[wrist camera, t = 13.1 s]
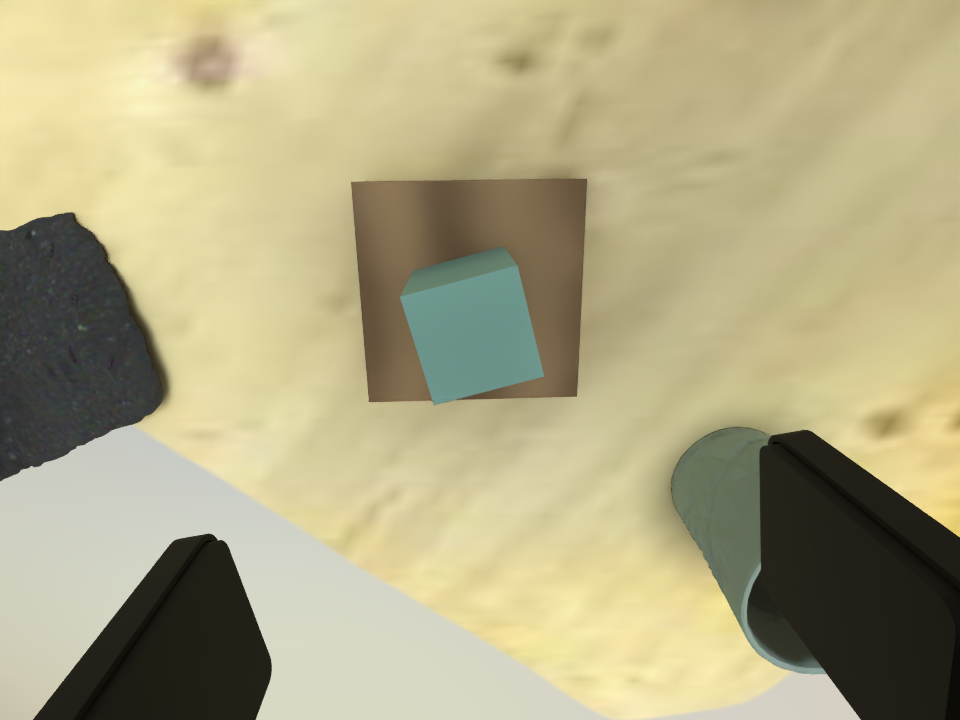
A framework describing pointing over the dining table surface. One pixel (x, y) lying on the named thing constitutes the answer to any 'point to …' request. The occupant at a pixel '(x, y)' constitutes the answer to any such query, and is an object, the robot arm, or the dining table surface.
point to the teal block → (471, 325)
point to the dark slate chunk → (65, 345)
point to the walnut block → (459, 233)
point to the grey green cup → (736, 537)
